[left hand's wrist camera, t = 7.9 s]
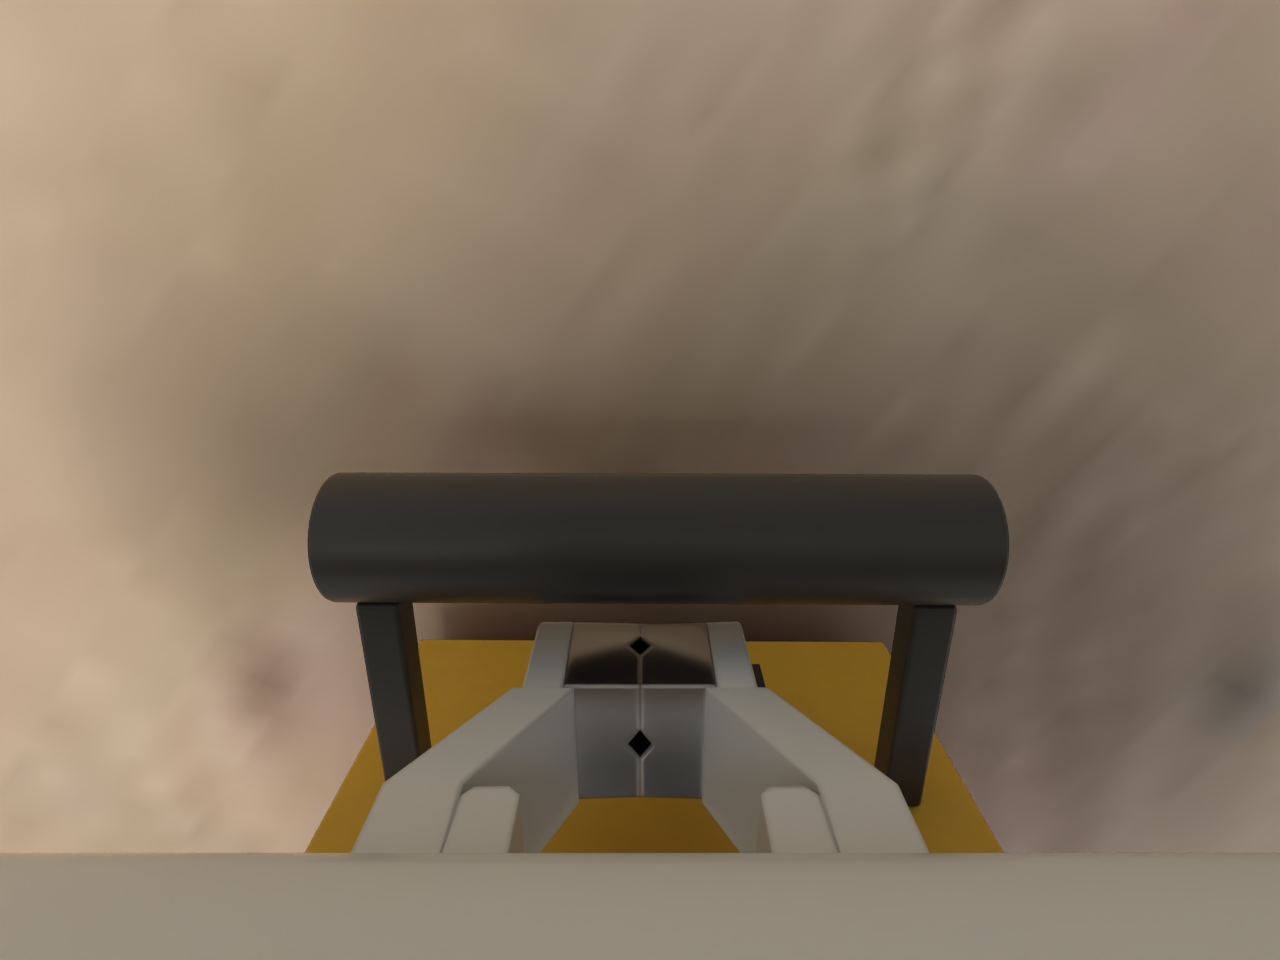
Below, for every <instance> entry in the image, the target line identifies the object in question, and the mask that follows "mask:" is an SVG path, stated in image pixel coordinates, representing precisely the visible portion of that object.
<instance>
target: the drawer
mask: <svg viewBox="0 0 1280 960" xmlns="http://www.w3.org/2000/svg"><path fill="white" fill-rule="evenodd" d="M1008 556H1009V533H1008V525H1007V520H1006V515H1005V512H1004V508H1003V505H1002V503H1001V500H1000V498H999V496H998V494H997V492H996V490H995V489H994V487H993V486H992V485H991V484H990V483H989V482H988V481H987V480H986V479H984V478H982V477H980V476H977V475H913V474H606V473H337V474H335V475H333V476H331V477H329V478H328V479H327V480H326V481H325V482H324V484H323V485H322V486H321V488H320V490H319V492H318V494H317V496H316V498H315V501H314V504H313V507H312V511H311V516H310V521H309V529H308V558H309V564H310V569H311V574H312V577H313V580H314V583H315V585H316V587H317V589H318V590H319V592H320V593H321V594H322V595H323V596H324V597H325V598H326V599H328V600H330V601H333V602H358V603H357V606H356V610H357V616H358V622H359V628H360V634H361V640H362V646H363V652H364V658H365V664H366V670H367V676H368V682H369V688H370V694H371V700H372V706H373V712H374V718H375V725H374V727H373V729H372V731H371V732H370V734H369V736H368V738H367V740H366V741H365V743H364V745H363V747H362V749H361V751H360V752H359V754H358V756H357V758H356V760H355V762H354V763H353V765H352V767H351V769H350V771H349V773H348V774H347V776H346V778H345V780H344V782H343V784H342V785H341V787H340V789H339V791H338V793H337V795H336V796H335V798H334V800H333V802H332V804H331V805H330V807H329V809H328V811H327V813H326V815H325V816H324V818H323V820H322V822H321V824H320V826H319V827H318V829H317V831H316V833H315V835H314V837H313V838H312V840H311V842H310V844H309V846H308V848H307V849H306V851H305V853H351V850H352V848H353V846H354V844H355V842H356V840H357V838H358V836H359V833H360V831H361V829H362V827H363V825H364V823H365V821H366V819H367V816H368V814H369V812H370V810H371V808H372V806H373V804H374V802H375V799H376V797H377V795H378V793H379V791H380V789H381V787H382V785H383V783H384V782H386V781H387V780H388V779H390V778H391V777H392V776H394V775H395V774H396V773H398V772H399V771H400V770H402V769H403V768H404V767H406V766H407V765H409V764H410V763H411V762H413V761H414V760H415V759H417V758H418V757H419V756H421V755H422V754H423V753H425V752H426V751H427V750H429V749H430V748H432V747H433V746H434V745H436V744H437V743H438V742H440V741H441V740H442V739H444V738H445V737H446V736H448V735H449V734H450V733H452V732H453V731H455V730H456V729H457V728H459V727H460V726H461V725H463V724H464V723H465V722H467V721H468V720H469V719H471V718H472V717H473V716H475V715H476V714H478V713H479V712H480V711H482V710H483V709H484V708H486V707H487V706H488V705H490V704H491V703H492V702H494V701H495V700H496V699H498V698H499V697H501V696H502V695H503V694H505V693H506V692H507V691H509V690H510V689H511V688H514V687H523V683H524V679H525V675H526V671H527V668H528V664H529V660H530V656H531V652H532V648H533V644H534V641H535V640H421V641H420V643H419V645H418V642H417V634H416V627H415V619H414V612H413V604H412V603H606V604H822V605H899V608H898V614H897V621H896V627H895V634H894V640H893V647H892V653H891V656H890V654H889V652H888V650H887V649H886V647H885V645H884V644H883V643H882V642H769V641H746V645H747V649H748V653H749V656H750V660H751V664H752V668H753V672H754V675H755V679H756V683H757V687H766V688H769V689H770V690H771V691H773V692H774V693H775V694H777V695H778V696H779V697H781V698H782V699H783V700H785V701H786V702H788V703H789V704H790V705H792V706H793V707H794V708H796V709H797V710H798V711H800V712H801V713H802V714H804V715H805V716H806V717H808V718H809V719H810V720H812V721H813V722H814V723H816V724H817V725H819V726H820V727H821V728H823V729H824V730H825V731H827V732H828V733H829V734H831V735H832V736H833V737H835V738H836V739H837V740H839V741H840V742H841V743H843V744H844V745H845V746H847V747H848V748H849V749H851V750H852V751H854V752H855V753H856V754H858V755H859V756H860V757H862V758H863V759H864V760H866V761H867V762H868V763H870V764H871V765H872V766H874V767H875V768H876V769H878V770H879V771H880V772H882V773H883V774H884V775H886V776H887V777H889V778H890V779H891V780H893V781H894V782H895V783H897V784H898V786H899V788H900V790H901V792H902V794H903V797H904V799H905V801H906V803H907V805H908V807H909V810H910V812H911V814H912V816H913V818H914V820H915V822H916V825H917V827H918V829H919V831H920V833H921V835H922V838H923V840H924V842H925V844H926V846H927V848H928V850H929V853H1003V851H1002V849H1001V847H1000V846H999V844H998V842H997V840H996V839H995V837H994V835H993V833H992V832H991V830H990V828H989V826H988V825H987V823H986V821H985V819H984V818H983V816H982V814H981V812H980V811H979V809H978V807H977V805H976V804H975V802H974V800H973V799H972V797H971V795H970V793H969V792H968V790H967V788H966V786H965V785H964V783H963V781H962V779H961V778H960V776H959V774H958V772H957V771H956V769H955V767H954V765H953V764H952V762H951V760H950V758H949V757H948V755H947V753H946V751H945V750H944V748H943V746H942V745H941V743H940V741H939V739H938V738H937V736H936V734H935V732H934V730H935V725H936V719H937V714H938V709H939V703H940V698H941V693H942V688H943V682H944V677H945V672H946V666H947V661H948V656H949V650H950V645H951V640H952V634H953V629H954V624H955V619H956V613H957V608H956V606H955V605H982V604H984V603H987V602H989V601H990V600H991V599H993V598H994V596H995V595H996V594H997V592H998V591H999V589H1000V587H1001V585H1002V583H1003V580H1004V577H1005V574H1006V570H1007V564H1008ZM540 853H740V852H739V850H738V849H737V848H736V846H735V845H734V844H733V843H732V841H731V840H730V839H729V837H728V836H727V835H726V833H725V832H724V831H723V829H722V828H721V827H720V826H719V824H718V823H717V822H716V820H715V819H714V818H713V816H712V815H711V814H710V812H709V811H708V810H707V809H706V807H705V806H704V805H703V803H702V802H701V799H687V798H651V797H627V798H593V799H579V803H578V804H577V805H576V807H575V808H574V809H573V811H572V812H571V813H570V814H569V816H568V817H567V818H566V820H565V821H564V822H563V824H562V825H561V826H560V827H559V829H558V830H557V831H556V833H555V834H554V835H553V837H552V838H551V839H550V840H549V842H548V843H547V844H546V846H545V847H544V848H543V850H542V851H541V852H540Z"/></svg>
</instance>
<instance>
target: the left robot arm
mask: <svg viewBox="0 0 1280 960" xmlns="http://www.w3.org/2000/svg"><path fill="white" fill-rule="evenodd" d="M627 797H651V798H687V799H701V802H702V803H703V805H704V806H705V807H706V809H707V810H708V811H709V812H710V814H711V815H712V816H713V818H714V819H715V820H716V822H717V823H718V824H719V826H720V827H721V828H722V829H723V831H724V832H725V833H726V835H727V836H728V837H729V839H730V840H731V841H732V843H733V844H734V845H735V846H736V848H737V849H738V850H739V852H740V853H540V852H541V851H542V850H543V848H544V847H545V846H546V844H547V843H548V842H549V840H550V839H551V838H552V837H553V835H554V834H555V833H556V831H557V830H558V829H559V827H560V826H561V825H562V824H563V822H564V821H565V820H566V818H567V817H568V816H569V814H570V813H571V812H572V811H573V809H574V808H575V807H576V805H577V804H578V803H579V799H593V798H627ZM0 960H1280V853H929V850H928V848H927V846H926V844H925V842H924V840H923V838H922V835H921V833H920V831H919V829H918V827H917V825H916V822H915V820H914V818H913V816H912V814H911V812H910V810H909V807H908V805H907V803H906V801H905V799H904V797H903V794H902V792H901V790H900V788H899V786H898V784H897V783H895V782H894V781H893V780H891V779H890V778H889V777H887V776H886V775H884V774H883V773H882V772H880V771H879V770H878V769H876V768H875V767H874V766H872V765H871V764H870V763H868V762H867V761H866V760H864V759H863V758H862V757H860V756H859V755H858V754H856V753H855V752H854V751H852V750H851V749H849V748H848V747H847V746H845V745H844V744H843V743H841V742H840V741H839V740H837V739H836V738H835V737H833V736H832V735H831V734H829V733H828V732H827V731H825V730H824V729H823V728H821V727H820V726H819V725H817V724H816V723H814V722H813V721H812V720H810V719H809V718H808V717H806V716H805V715H804V714H802V713H801V712H800V711H798V710H797V709H796V708H794V707H793V706H792V705H790V704H789V703H788V702H786V701H785V700H783V699H782V698H781V697H779V696H778V695H777V694H775V693H774V692H773V691H771V690H770V689H769V688H766V687H757V683H756V679H755V675H754V672H753V668H752V664H751V660H750V656H749V653H748V649H747V645H746V641H745V637H744V634H743V630H742V626H741V624H740V623H739V622H738V621H735V622H710V623H675V624H640V623H594V622H575V624H574V623H573V622H542V623H541V624H540V625H539V626H538V629H537V633H536V637H535V641H534V644H533V648H532V652H531V656H530V660H529V664H528V668H527V671H526V675H525V679H524V683H523V687H514V688H511V689H510V690H509V691H507V692H506V693H505V694H503V695H502V696H501V697H499V698H498V699H496V700H495V701H494V702H492V703H491V704H490V705H488V706H487V707H486V708H484V709H483V710H482V711H480V712H479V713H478V714H476V715H475V716H473V717H472V718H471V719H469V720H468V721H467V722H465V723H464V724H463V725H461V726H460V727H459V728H457V729H456V730H455V731H453V732H452V733H450V734H449V735H448V736H446V737H445V738H444V739H442V740H441V741H440V742H438V743H437V744H436V745H434V746H433V747H432V748H430V749H429V750H427V751H426V752H425V753H423V754H422V755H421V756H419V757H418V758H417V759H415V760H414V761H413V762H411V763H410V764H409V765H407V766H406V767H404V768H403V769H402V770H400V771H399V772H398V773H396V774H395V775H394V776H392V777H391V778H390V779H388V780H387V781H386V782H384V783H383V785H382V787H381V789H380V791H379V793H378V795H377V797H376V799H375V802H374V804H373V806H372V808H371V810H370V812H369V814H368V816H367V819H366V821H365V823H364V825H363V827H362V829H361V831H360V833H359V836H358V838H357V840H356V842H355V844H354V846H353V848H352V850H351V853H0Z"/></svg>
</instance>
